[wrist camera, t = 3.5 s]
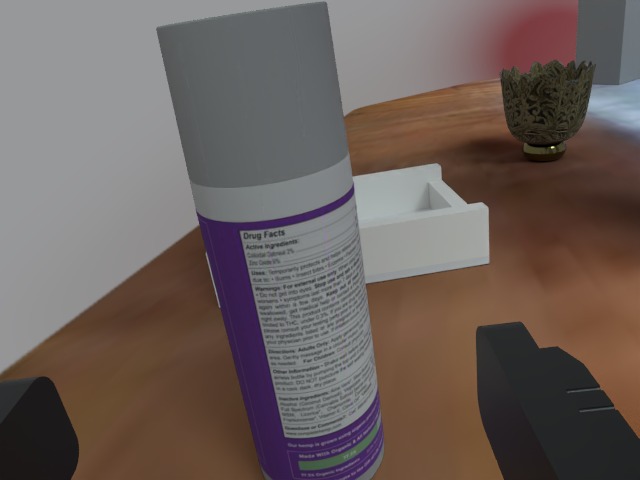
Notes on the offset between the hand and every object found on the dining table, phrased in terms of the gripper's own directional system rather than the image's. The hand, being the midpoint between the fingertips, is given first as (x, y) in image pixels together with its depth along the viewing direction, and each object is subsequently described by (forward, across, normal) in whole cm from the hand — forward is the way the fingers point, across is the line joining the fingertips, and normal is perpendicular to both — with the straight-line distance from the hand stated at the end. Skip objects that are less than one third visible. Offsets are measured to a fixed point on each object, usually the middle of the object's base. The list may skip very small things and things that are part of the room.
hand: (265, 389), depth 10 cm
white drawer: (+24, -1, +9) cm, 26 cm away
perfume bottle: (+72, -42, +9) cm, 84 cm away
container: (+7, 0, +9) cm, 11 cm away
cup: (+39, -20, +9) cm, 45 cm away
